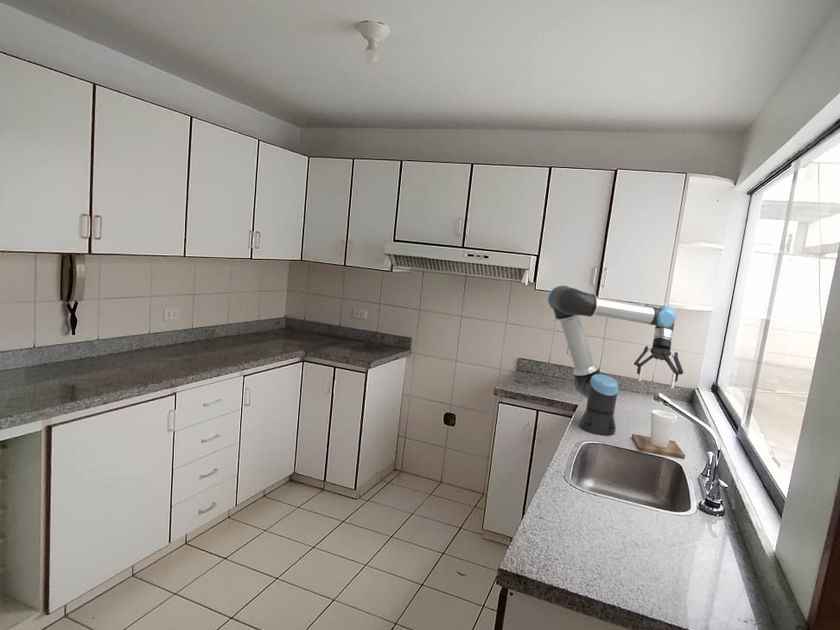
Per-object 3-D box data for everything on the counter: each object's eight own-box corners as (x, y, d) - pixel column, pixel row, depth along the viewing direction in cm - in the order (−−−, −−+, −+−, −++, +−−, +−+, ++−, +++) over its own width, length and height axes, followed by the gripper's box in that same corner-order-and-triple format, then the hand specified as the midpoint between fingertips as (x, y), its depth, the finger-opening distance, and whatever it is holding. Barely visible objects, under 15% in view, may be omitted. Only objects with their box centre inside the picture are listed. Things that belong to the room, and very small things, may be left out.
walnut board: (639, 450, 206) (639, 447, 206) (631, 437, 221) (632, 433, 221) (684, 458, 203) (685, 455, 202) (673, 444, 218) (674, 441, 218)
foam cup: (673, 450, 206) (679, 419, 204) (649, 446, 208) (655, 415, 206) (667, 442, 215) (673, 412, 214) (644, 438, 217) (649, 408, 215)
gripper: (690, 347, 233) (683, 392, 228) (632, 336, 240) (624, 380, 235) (694, 343, 227) (688, 389, 221) (634, 331, 234) (627, 376, 228)
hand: (655, 384), depth 228 cm, fingers open, 13 cm apart
